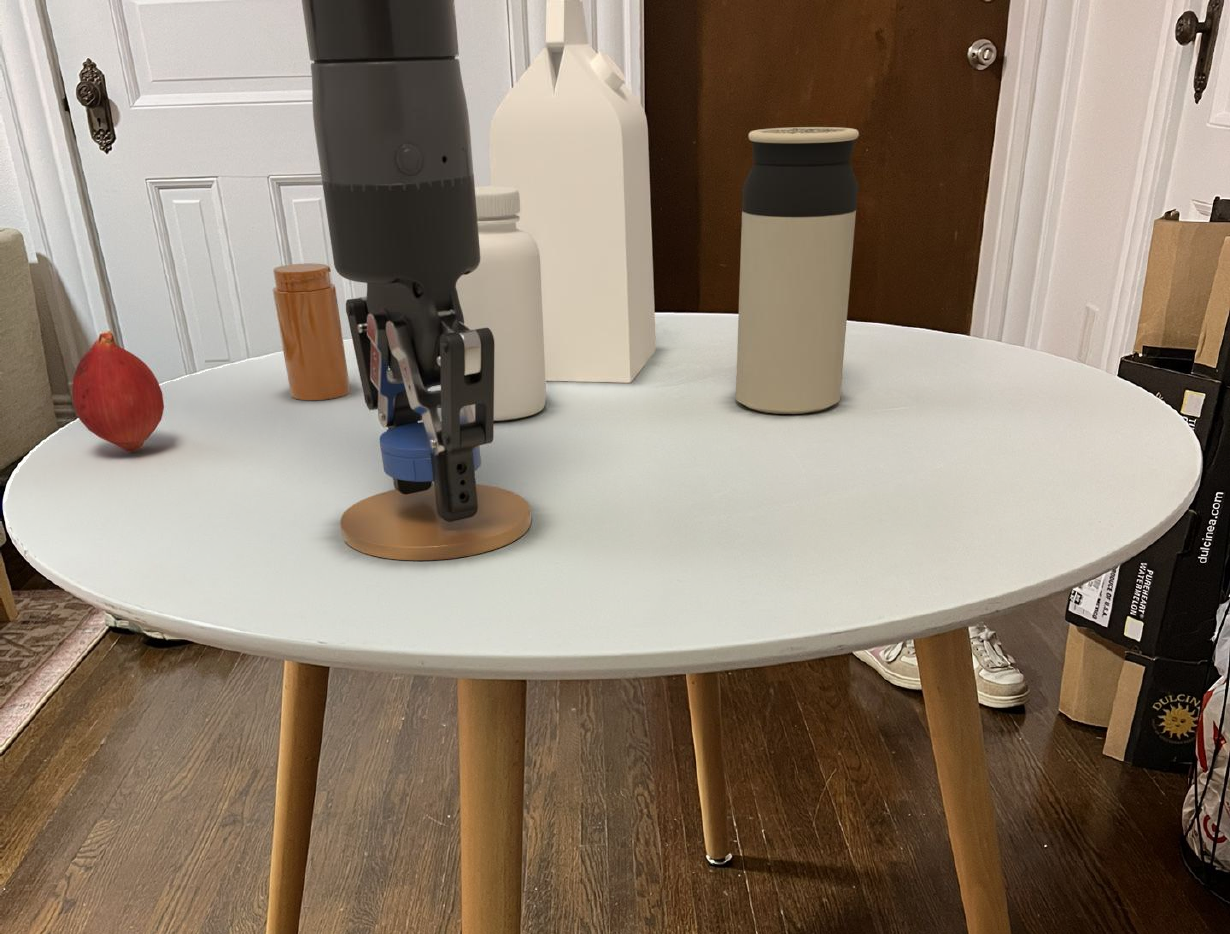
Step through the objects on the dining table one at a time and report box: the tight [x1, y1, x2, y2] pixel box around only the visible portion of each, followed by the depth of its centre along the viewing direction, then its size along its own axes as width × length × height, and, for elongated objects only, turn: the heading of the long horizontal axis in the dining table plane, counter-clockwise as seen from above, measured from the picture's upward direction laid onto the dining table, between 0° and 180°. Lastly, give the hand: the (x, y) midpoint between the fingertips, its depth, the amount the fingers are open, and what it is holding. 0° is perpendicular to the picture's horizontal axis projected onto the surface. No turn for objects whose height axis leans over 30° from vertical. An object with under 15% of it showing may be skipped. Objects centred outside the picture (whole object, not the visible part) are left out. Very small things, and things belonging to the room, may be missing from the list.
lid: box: [379, 420, 482, 483], centre depth 65 cm, size 6×6×2 cm
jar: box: [272, 262, 351, 401], centre depth 92 cm, size 5×5×9 cm
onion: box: [71, 330, 165, 453], centre depth 79 cm, size 6×6×8 cm
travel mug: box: [735, 126, 860, 415], centre depth 84 cm, size 8×8×18 cm
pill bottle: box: [456, 185, 547, 422], centre depth 85 cm, size 8×8×15 cm
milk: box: [488, 0, 657, 384], centre depth 94 cm, size 12×12×26 cm
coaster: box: [339, 483, 532, 561], centre depth 67 cm, size 11×11×1 cm
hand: (435, 502), depth 67 cm, fingers closed on lid, 5 cm apart
